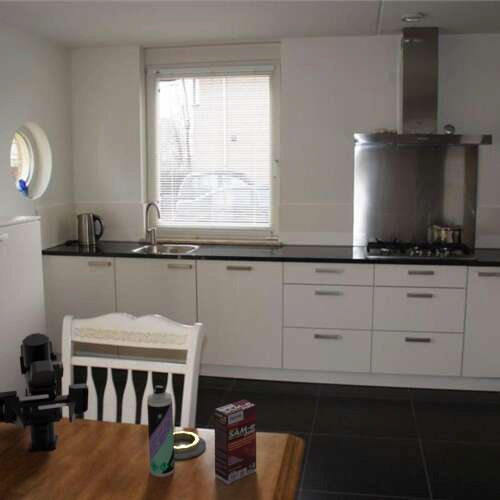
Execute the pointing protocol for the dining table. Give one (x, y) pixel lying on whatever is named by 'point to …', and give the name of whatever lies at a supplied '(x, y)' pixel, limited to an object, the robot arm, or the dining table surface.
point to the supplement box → (235, 441)
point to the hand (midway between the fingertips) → (48, 423)
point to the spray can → (160, 432)
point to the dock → (190, 455)
